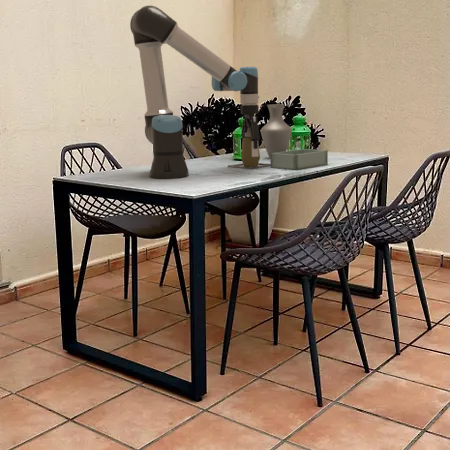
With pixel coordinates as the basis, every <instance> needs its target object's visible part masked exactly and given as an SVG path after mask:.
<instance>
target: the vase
mask: <svg viewBox="0 0 450 450" xmlns="http://www.w3.org/2000/svg"><path fill="white" fill-rule="evenodd" d="M285 105H286V104H279V103H277V104H266V106H267V108H268V111H269V115H270V116H269V120H268V122H267V123H265V124H264V126H262V128H261V129H260V134H261V138H262V142H263V144H264V148H265V150H266V151H265V152H266V153H267V155H268V158H269V159H270V153H277V152H284V151H288V148H289V145H290V141H291V137H292V133H293V129H292V127H291V126H289V124H287V123H286V122H285V121H284V119H283V111H284V108H285Z"/></svg>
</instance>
